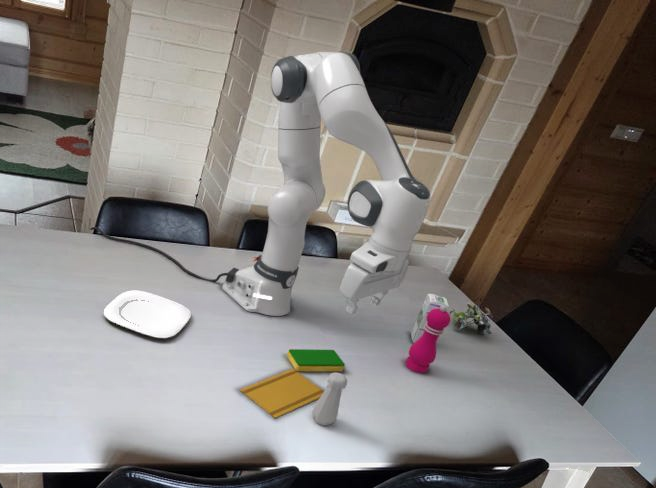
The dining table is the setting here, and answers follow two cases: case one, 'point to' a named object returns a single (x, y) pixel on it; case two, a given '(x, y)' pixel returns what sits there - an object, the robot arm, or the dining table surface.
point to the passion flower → (478, 318)
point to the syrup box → (428, 305)
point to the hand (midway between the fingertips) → (362, 308)
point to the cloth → (283, 392)
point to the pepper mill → (428, 341)
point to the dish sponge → (315, 360)
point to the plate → (148, 314)
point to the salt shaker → (329, 400)
